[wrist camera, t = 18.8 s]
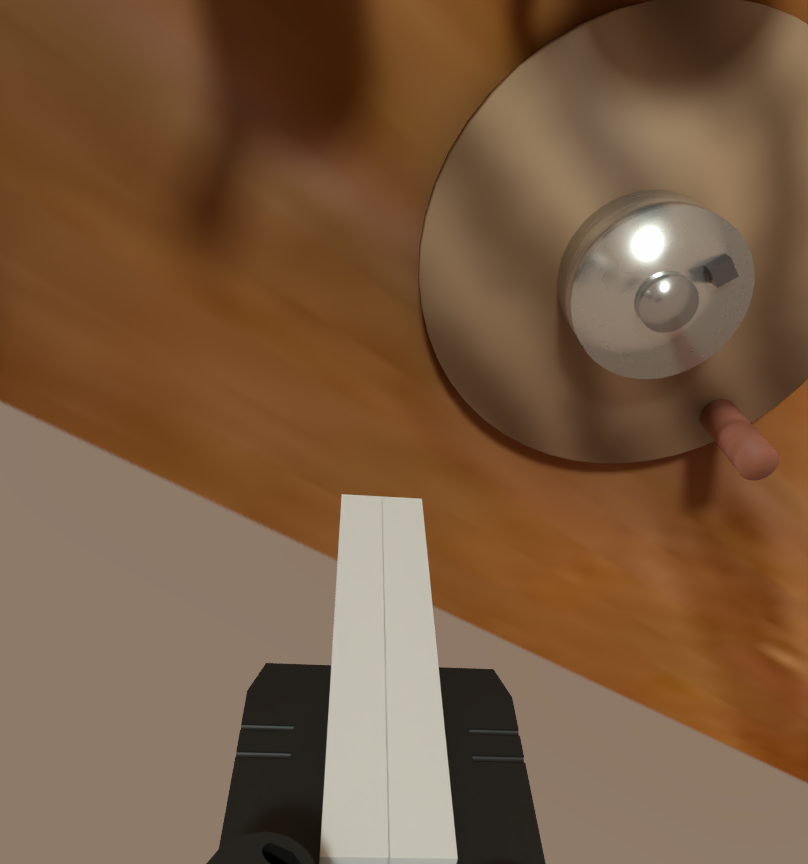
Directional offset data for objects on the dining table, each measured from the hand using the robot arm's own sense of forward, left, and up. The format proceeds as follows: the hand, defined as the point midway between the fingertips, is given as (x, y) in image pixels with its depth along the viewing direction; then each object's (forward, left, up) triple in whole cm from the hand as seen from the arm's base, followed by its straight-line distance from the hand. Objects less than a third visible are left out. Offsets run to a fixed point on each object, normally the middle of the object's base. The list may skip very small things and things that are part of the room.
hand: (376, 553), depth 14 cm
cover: (+16, -3, -30) cm, 35 cm away
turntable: (+17, -3, -32) cm, 37 cm away
